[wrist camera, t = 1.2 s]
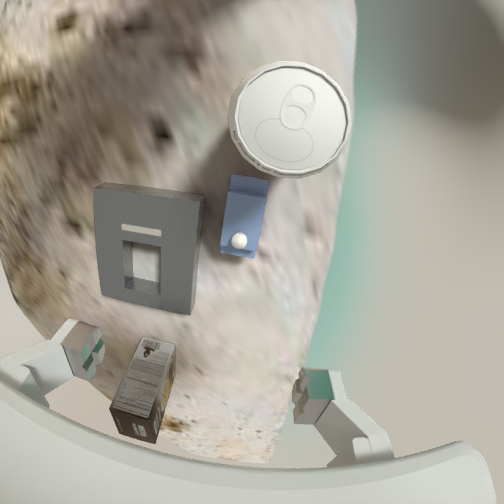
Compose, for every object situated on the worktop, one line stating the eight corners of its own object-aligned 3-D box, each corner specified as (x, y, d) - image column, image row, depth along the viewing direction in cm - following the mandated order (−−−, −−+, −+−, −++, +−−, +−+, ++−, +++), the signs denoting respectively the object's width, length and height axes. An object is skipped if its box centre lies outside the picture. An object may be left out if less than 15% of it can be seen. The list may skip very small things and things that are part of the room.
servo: (234, 169, 31) (228, 178, 26) (268, 175, 31) (269, 185, 26) (223, 241, 35) (217, 262, 30) (254, 246, 35) (253, 268, 30)
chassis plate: (105, 182, 32) (93, 188, 29) (205, 195, 32) (199, 202, 29) (110, 284, 39) (101, 294, 36) (194, 302, 39) (190, 315, 36)
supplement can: (299, 167, 30) (329, 202, 17) (232, 142, 29) (206, 155, 16) (325, 105, 27) (376, 90, 14) (256, 79, 26) (252, 38, 13)
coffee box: (176, 374, 47) (156, 446, 33) (145, 367, 47) (119, 434, 32) (176, 343, 43) (150, 422, 29) (141, 334, 43) (106, 408, 28)
